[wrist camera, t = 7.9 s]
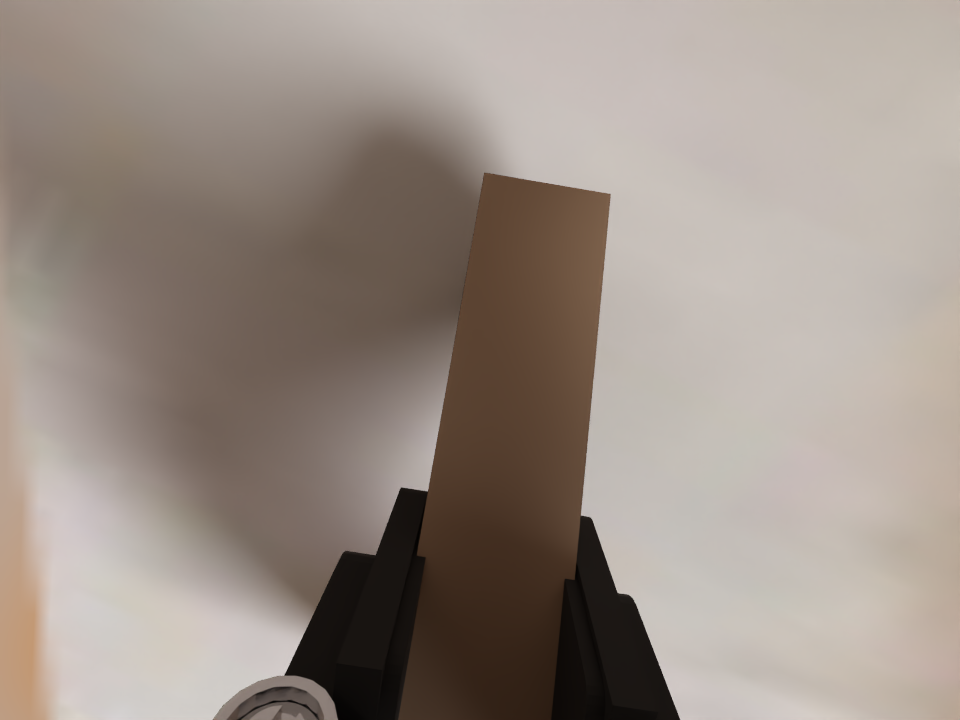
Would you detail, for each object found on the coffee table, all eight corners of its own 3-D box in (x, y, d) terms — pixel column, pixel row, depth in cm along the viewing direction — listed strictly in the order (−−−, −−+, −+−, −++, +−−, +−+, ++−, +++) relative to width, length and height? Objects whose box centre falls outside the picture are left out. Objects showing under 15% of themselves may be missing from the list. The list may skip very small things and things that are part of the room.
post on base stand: (647, 297, 13) (763, 181, 8) (607, 903, 9) (769, 1332, 5) (389, 253, 13) (351, 111, 8) (254, 850, 9) (44, 1234, 5)
